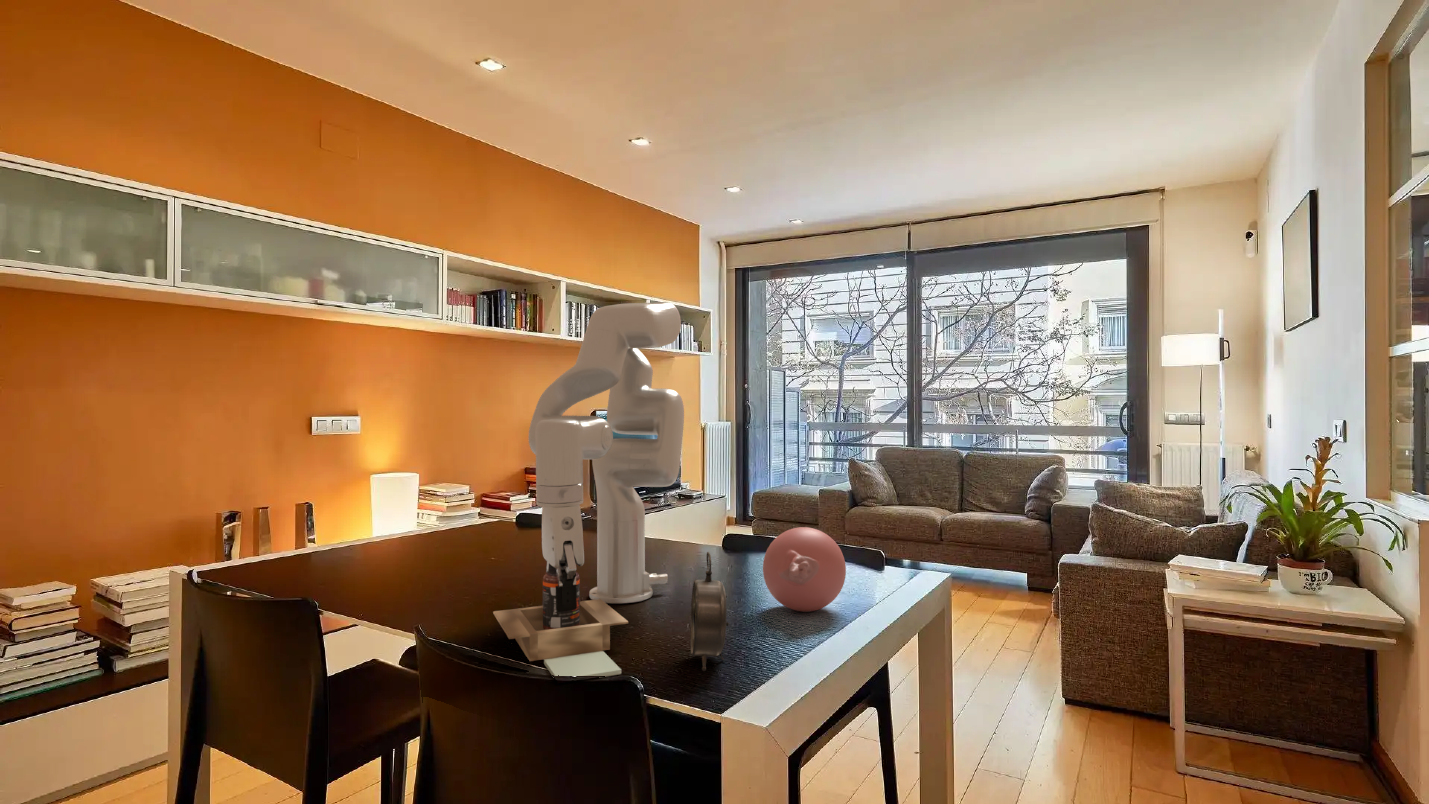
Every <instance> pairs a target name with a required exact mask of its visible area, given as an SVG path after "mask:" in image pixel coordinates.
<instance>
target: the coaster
mask: <svg viewBox="0 0 1429 804" xmlns="http://www.w3.org/2000/svg"><path fill="white" fill-rule="evenodd" d="M543 664H544V666H545V667H546V669H547V670H548V671H549V673H550V674H551V676H552V675H554V676H558V675H559V676H605V677H611V676H617V675H622V668H621V667H620V666H618V665H617V664H616V662H615V661H614V660H613V659H611V657H609V655H607V653H606V652H605V650H603V651H597V652H590V653H583V654H576V655H569V656H562V657H556V658H549V659H543Z"/></svg>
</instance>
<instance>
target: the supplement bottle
mask: <svg viewBox="0 0 1429 804" xmlns="http://www.w3.org/2000/svg"><path fill="white" fill-rule="evenodd" d="M560 566H566V563H560ZM563 572H566V570H564V571H561V573H562V574H563ZM562 576H563V575H562ZM580 578H581V577H580V574H579V573H578V572H577V571H576V599H577V608H576V609H575V610H569V611H562V612H558V611H557V610H556V586H558V583H557V572H556V568H554V567H553V566H552V565H550V564H549V570H548V572H547V573H546V572H545V574H544V575H543V576H542V606H543V629H544V630H549V629H556V628H564V627H572V626H579V625H580V601H581V597H580V595H581V593H580V592H581V591H580V590H581V589H580V587H581V583H580V580H581V579H580Z"/></svg>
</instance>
